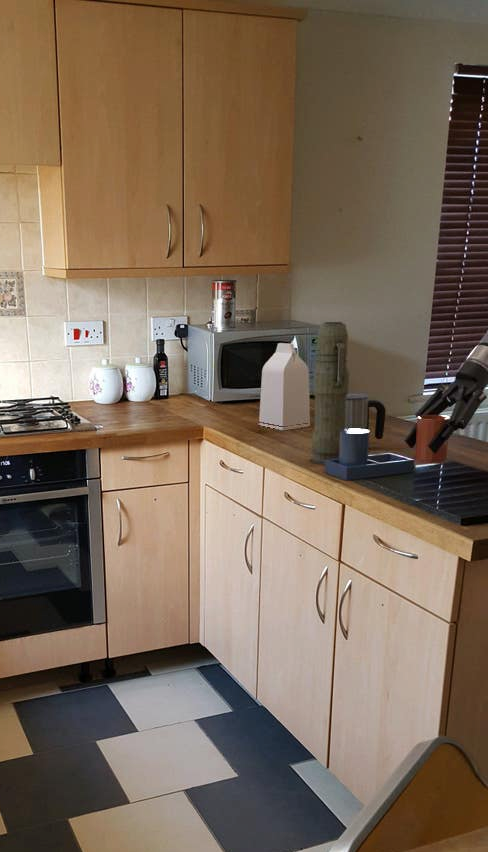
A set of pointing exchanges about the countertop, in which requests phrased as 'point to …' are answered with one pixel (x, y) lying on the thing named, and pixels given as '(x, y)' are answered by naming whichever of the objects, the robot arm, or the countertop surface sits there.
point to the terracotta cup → (429, 438)
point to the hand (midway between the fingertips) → (420, 446)
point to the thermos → (330, 390)
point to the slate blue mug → (353, 447)
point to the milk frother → (364, 413)
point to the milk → (285, 390)
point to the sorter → (371, 467)
